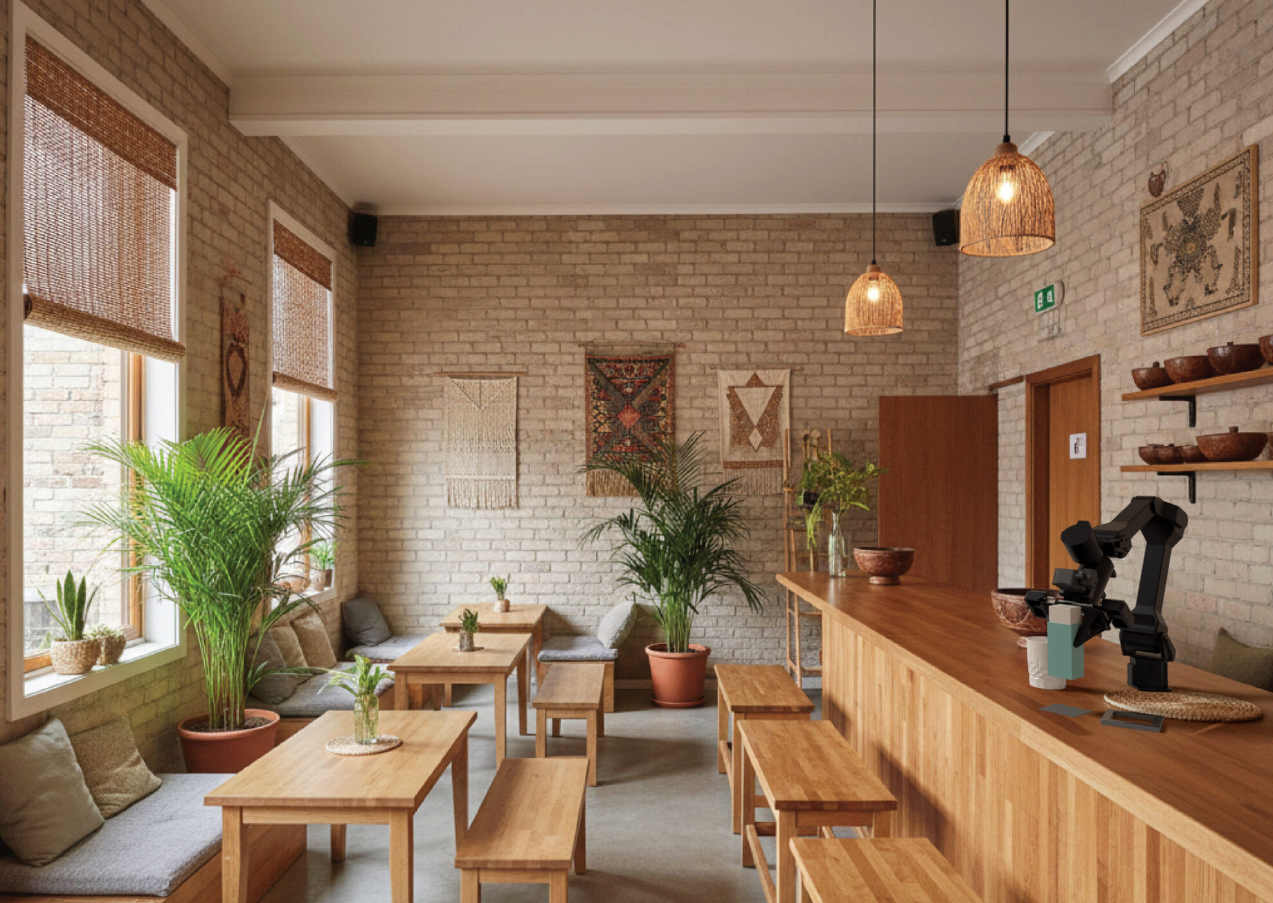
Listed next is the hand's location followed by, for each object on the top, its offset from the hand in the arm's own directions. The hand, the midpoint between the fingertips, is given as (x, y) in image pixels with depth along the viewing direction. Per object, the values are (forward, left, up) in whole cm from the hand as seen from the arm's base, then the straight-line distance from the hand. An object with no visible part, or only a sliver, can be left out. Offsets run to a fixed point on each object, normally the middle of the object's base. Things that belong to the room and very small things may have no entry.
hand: (1061, 644), depth 163 cm
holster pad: (-1, -1, -13) cm, 13 cm away
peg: (-1, -1, -6) cm, 6 cm away
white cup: (-4, -21, -13) cm, 25 cm away
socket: (-10, +6, -13) cm, 17 cm away
